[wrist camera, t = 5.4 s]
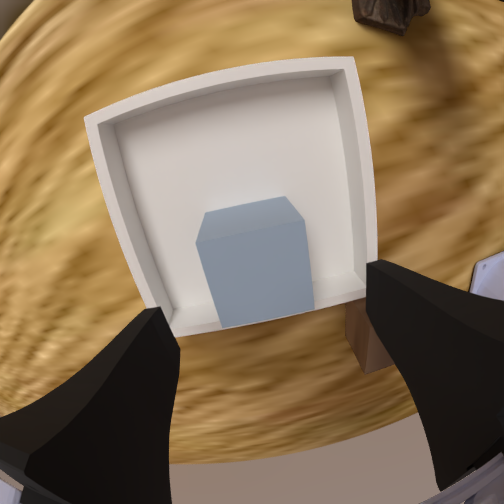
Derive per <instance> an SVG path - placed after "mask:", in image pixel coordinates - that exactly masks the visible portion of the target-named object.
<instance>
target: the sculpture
mask: <svg viewBox="0 0 504 504" xmlns="http://www.w3.org/2000/svg"><path fill="white" fill-rule="evenodd" d="M499 1H502V2H504V0H499ZM352 7H353V14H354V19H355V21H356V22H359V23H362V24H366V25H370V26H373V27H377V28H380V29H383V30H386V31H389V32H392V33H395V34H398V35H401V36H404V34H405V32H406V30H407V27H408V26H409V24H410V21H411V19H412V17H413V16H423V15H424V14H427V13H428V12H429V10H430V8H431V6H430V2H429V0H352Z"/></svg>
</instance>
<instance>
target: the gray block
mask: <svg viewBox="0 0 504 504" xmlns="http://www.w3.org/2000/svg"><path fill="white" fill-rule="evenodd" d="M195 244H196V247H197V250H198V254H199V257H200V260H201V264H202V267H203V270H204V273H205V277H206V280H207V283H208V286H209V289H210V292H211V295H212V299H213V302H214V305H215V308H216V311H217V314H218V317H219V320H220V323H221V326H222V328H226V327H232V326H238V325H243V324H248V323H253V322H259V321H264V320H268V319H273V318H278V317H283V316H287V315H292V314H296V313H301V312H305V311H309V310H314V309H315V307H314V296H313V286H312V276H311V267H310V258H309V250H308V242H307V234H306V226H305V220H304V219H303V217H302V216H301V215H300V214H299V212H298V211H297V210H296V209H295V207H294V206H293V205H292V204H291V202H290V201H289V200H288V199H287V198H286V196H281V197H276V198H271V199H266V200H261V201H256V202H251V203H246V204H242V205H237V206H232V207H228V208H223V209H219V210H214V211H210V212H206V213H205V215H204V218H203V221H202V224H201V227H200V230H199V233H198V236H197V239H196V242H195Z"/></svg>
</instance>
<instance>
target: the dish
mask: <svg viewBox="0 0 504 504" xmlns="http://www.w3.org/2000/svg"><path fill="white" fill-rule="evenodd" d="M84 121H85V126H86V131H87V135H88V140H89V144H90V148H91V152H92V156H93V160H94V164H95V168H96V171H97V175H98V178H99V182H100V185H101V189H102V192H103V195H104V199H105V202H106V205H107V208H108V211H109V214H110V217H111V220H112V223H113V226H114V229H115V232H116V234H117V237H118V240H119V243H120V245H121V248H122V250H123V253H124V256H125V258H126V261H127V263H128V266H129V268H130V271H131V273H132V276H133V278H134V280H135V283H136V285H137V287H138V290H139V292H140V294H141V296H142V299H143V301H144V303H145V305H146V307H147V308H153V307H159V306H161V309H162V311H163V313H164V315H165V318H166V320H167V322H168V324H169V326H170V328H171V331H172V333H173V335H174V337H181V336H187V335H194V334H200V333H206V332H212V331H218V330H224V329H229V328H235V327H240V326H245V325H250V324H255V323H260V322H265V321H270V320H275V319H279V318H284V317H288V316H293V315H297V314H301V313H306V312H310V311H314V310H318V309H322V308H326V307H330V306H334V305H338V304H342V303H345V302H349V301H353V300H357V299H360V298H364V297H366V263H369V262H373V261H377V216H376V198H375V185H374V173H373V164H372V155H371V147H370V139H369V132H368V126H367V119H366V113H365V108H364V102H363V97H362V92H361V87H360V82H359V78H358V73H357V69H356V65H355V61H354V57H315V58H300V59H289V60H279V61H271V62H264V63H257V64H251V65H245V66H239V67H234V68H229V69H224V70H219V71H215V72H210V73H206V74H202V75H198V76H194V77H190V78H187V79H183V80H179V81H176V82H173V83H169V84H166V85H163V86H160V87H157V88H154V89H151V90H148V91H145V92H142V93H140V94H137V95H134V96H132V97H129V98H126V99H124V100H121V101H119V102H116V103H114V104H112V105H109V106H107V107H105V108H102V109H100V110H98V111H96V112H94V113H91V114H89V115H87V116H85V117H84ZM281 196H286V198H287V199H288V200H289V201H290V202H291V204H292V205H293V206H294V207H295V209H296V210H297V211H298V212H299V214H300V215H301V216H302V217H303V219H304V220H305V226H306V234H307V242H308V250H309V258H310V267H311V276H312V286H313V296H314V307H315V309H314V310H309V311H305V312H301V313H296V314H292V315H287V316H283V317H278V318H273V319H268V320H264V321H259V322H253V323H248V324H243V325H238V326H232V327H226V328H222V326H221V323H220V320H219V317H218V314H217V311H216V308H215V305H214V302H213V299H212V295H211V292H210V289H209V286H208V283H207V280H206V277H205V273H204V270H203V267H202V264H201V260H200V257H199V254H198V250H197V247H196V244H195V242H196V239H197V236H198V233H199V230H200V227H201V224H202V221H203V218H204V215H205V213H206V212H210V211H214V210H219V209H223V208H228V207H232V206H237V205H242V204H246V203H251V202H256V201H261V200H266V199H271V198H276V197H281Z"/></svg>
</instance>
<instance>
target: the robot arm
mask: <svg viewBox="0 0 504 504" xmlns="http://www.w3.org/2000/svg"><path fill="white" fill-rule="evenodd" d="M365 311H366V313H367V315H368V317H369V320H370V322H371V324H372V326H373V328H374V330H375V332H376V334H377V336H378V337H379V339H380V341H381V342H382V344H383V345H384V347H385V349H386V350H387V352H388V354H389V355H390V357H391V358H392V360H393V362H394V363H395V365H396V366H397V368H398V370H399V371H400V373H401V375H402V376H403V378H404V380H405V382H406V384H407V386H408V388H409V390H410V393H411V395H412V397H413V400H414V402H415V405H416V407H417V410H418V413H419V415H420V418H421V421H422V424H423V427H424V430H425V433H426V437H427V440H428V443H429V447H430V451H431V456H432V460H433V465H434V470H435V476H436V483H437V485H438V488H439V490H440V491H443V490H444V491H443V492H441V493H439V494H437V495H435V496H433V497H431V498H430V499H428V500H426V501H424V502H422V503H419V504H460V503H462V502H464V501H465V500H466V501H465V502H464V504H504V251H503V252H500V253H498V254H496V255H493V256H491V257H488V258H486V259H484V260H481V261H479V262H477V264H476V265H475V269H474V274H473V279H472V284H471V288H470V292H466V291H463V290H460V289H457V288H454V287H452V286H449V285H446V284H443V283H441V282H438V281H436V280H433V279H431V278H428V277H426V276H423V275H421V274H418V273H416V272H414V271H411V270H409V269H406V268H404V267H402V266H399V265H397V264H394V263H391V262H389V261H386V260H382V259H381V260H377V261H373V262H369V263H366V310H365ZM179 369H180V347H179V345H178V343H177V341H176V339H175V337H174V335H173V333H172V331H171V328H170V326H169V324H168V322H167V320H166V318H165V315H164V313H163V311H162V309H161V306H159V307H153V308H147V309H144V310H143V311H142V312H141V313H140V314H138V315H137V316H136V317H135V318H134V319H133V320H132V321H131V322H130V323H129V324H128V325H127V326H126V327H125V328H124V329H123V330H122V331H121V332H120V333H119V334H118V335H117V336H116V337H115V338H114V339H113V340H112V341H111V342H110V343H109V344H108V345H107V346H106V347H105V348H104V349H103V350H102V351H101V352H100V353H98V354H97V355H96V356H95V357H94V358H93V359H92V360H91V361H90V362H89V363H88V364H87V365H86V366H84V367H83V368H82V369H81V370H80V371H78V372H77V373H76V374H75V375H73V376H72V377H71V378H70V379H68V380H67V381H66V382H64V383H63V384H61V385H60V386H59V387H57V388H56V389H54V390H53V391H51V392H50V393H48V394H47V395H45V396H44V397H42V398H40V399H39V400H37V401H35V402H33V403H31V404H30V405H28V406H26V407H24V408H22V409H20V410H18V411H15V412H13V413H11V414H8V415H6V416H3V417H1V418H0V469H1V470H2V471H4V472H5V473H6V474H8V475H9V476H10V477H12V478H13V479H14V480H16V481H17V482H19V483H20V484H22V485H23V486H24V488H23V491H21V490H19V489H17V488H16V487H14V486H13V485H11V484H9V483H8V482H6V481H4V480H3V479H1V478H0V504H172V500H171V491H170V480H169V479H170V478H169V433H170V424H171V418H172V412H173V406H174V400H175V395H176V389H177V384H178V378H179ZM475 470H476V471H475ZM474 471H475V472H474ZM472 472H473V473H472ZM471 473H472V474H471ZM469 474H470V475H469ZM468 475H469V476H468ZM466 476H467V477H466ZM465 477H466V478H465ZM463 478H464V479H463ZM461 479H463V480H461ZM460 480H461V481H460ZM458 481H460V482H458ZM456 482H458V483H456ZM455 483H456V484H455ZM453 484H455V485H453ZM452 485H453V486H452ZM450 486H451V487H450ZM448 487H450V488H448ZM447 488H448V489H447ZM445 489H446V490H445Z"/></svg>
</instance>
